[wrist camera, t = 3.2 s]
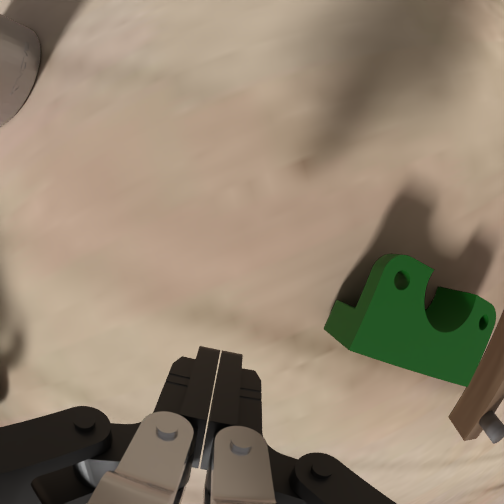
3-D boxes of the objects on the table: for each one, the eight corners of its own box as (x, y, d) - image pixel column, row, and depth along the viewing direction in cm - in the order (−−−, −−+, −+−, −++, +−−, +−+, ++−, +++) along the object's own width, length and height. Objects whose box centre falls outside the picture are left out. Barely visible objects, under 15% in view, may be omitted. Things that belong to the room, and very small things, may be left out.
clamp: (418, 285, 26) (503, 314, 18) (392, 346, 26) (473, 386, 18) (336, 233, 20) (461, 264, 12) (299, 319, 20) (410, 386, 12)
